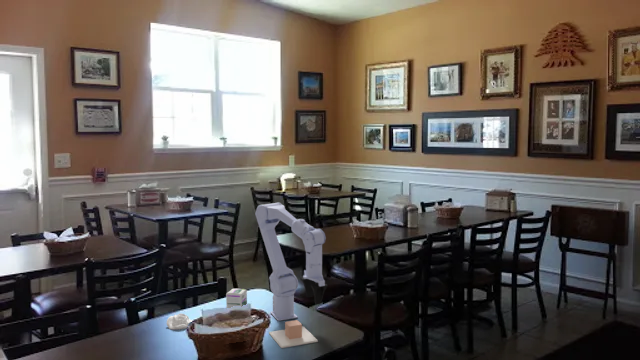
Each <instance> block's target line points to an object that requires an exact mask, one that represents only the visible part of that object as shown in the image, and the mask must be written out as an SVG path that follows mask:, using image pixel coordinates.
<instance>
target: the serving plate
mask: <svg viewBox="0 0 640 360" xmlns="http://www.w3.org/2000/svg"><path fill="white" fill-rule="evenodd" d="M268 333H269V335H270V336H271V338H272V340H274V342H275V343H276V344H277V345H278V346H279V347H280V348H281V349H286V348H291V347H296V346H301V345H307V344H313V343H318V342H319V341H318V339H317V338H316V337H315V335H313V334H312V333H311V332H310V331H309V330H308V329H307V328H306V327H305V326H303V325H302V337H300V338H294V339H289V338H288V337H287V336H286V335H285V328H284V329H279V330H275V331H274V330H273V331H269V332H268Z"/></svg>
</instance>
